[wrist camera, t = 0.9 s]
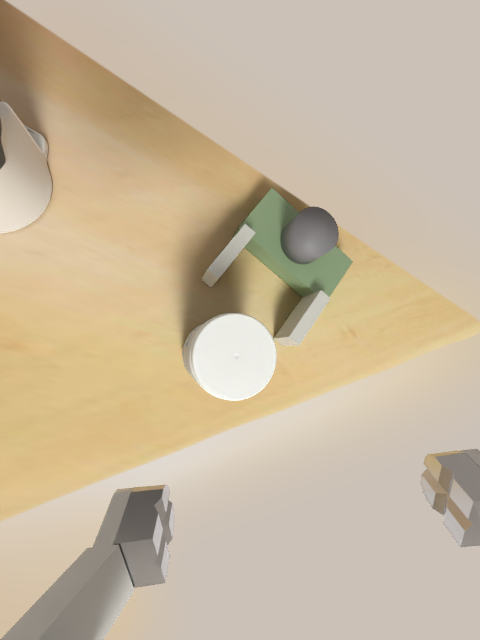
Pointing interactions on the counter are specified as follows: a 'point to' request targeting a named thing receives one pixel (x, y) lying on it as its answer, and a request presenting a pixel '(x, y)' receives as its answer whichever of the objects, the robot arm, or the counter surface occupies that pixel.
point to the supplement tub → (230, 356)
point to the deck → (275, 257)
